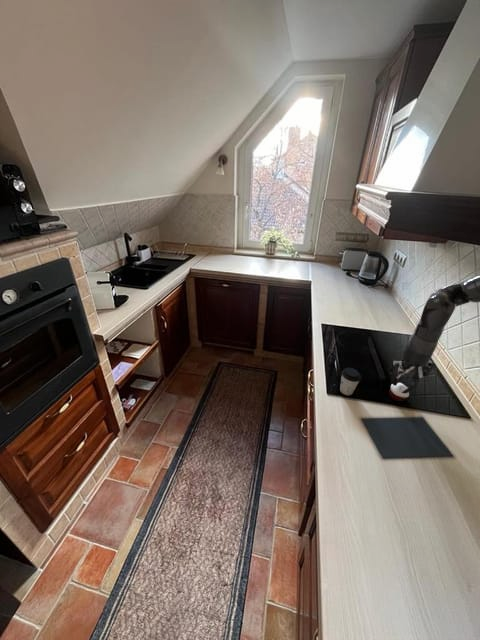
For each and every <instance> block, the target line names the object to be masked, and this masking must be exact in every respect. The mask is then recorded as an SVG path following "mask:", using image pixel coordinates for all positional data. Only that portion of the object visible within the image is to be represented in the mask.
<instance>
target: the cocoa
mask: <svg viewBox="0 0 480 640" xmlns="http://www.w3.org/2000/svg"><path fill="white" fill-rule="evenodd" d="M417 387H418V384H417V385H414V384H411V385H410V386H409V387H408V386H407V385H405V384H404V383H402V382H398V383H397V385H396V386H394V385H393V384H392V383H391V385H390V388H389V390H388V395H389V397H390V398H391V399H392V400H394V401H395V402H399V403H400V402H405V400H407V399H408V398H409V396H410V392H412V390H414V389H415V388H417Z"/></svg>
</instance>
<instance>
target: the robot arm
mask: <svg viewBox="0 0 480 640" xmlns="http://www.w3.org/2000/svg"><path fill="white" fill-rule="evenodd" d="M469 303H474V304H478V303H480V274H478V275H475V276H473V277H470V278H469V279H466V280H464V281H459V282H455V283H453V284H450V285H447V286H444V287H441V288H438V289H437V290H435V291H433V292H432V293H431V294H430V295H429V297H428V298H427V300H426V302H425V304H424V306H423V309H422V312H421V316H420V319H419V320H418V322H417V324H416V326H415V328H414V330H413V333H412V334H411V336H410V337H409V340H408V341H407V345H406V346H405V348H404V351H403V357H402V359H400V360H396V359H392V360H391V363H390V366H389V369H388V374H390V376H391V379H390V383H391V384H393V385H394V386H396V385H397V383H399V382H400V379H401V377H403V376H406V375H407V374H409V373H413V375H412V377H411V379H410V383H411V385H413V384H414V385H418V384H419V382H420V380H421V379H422V378H423V377H424V378H428V377H429V375H430V374H431V372H432V371H433V369H434V367H435V363H434V362H433V361H432V360H431V359H432V357H433V355H434V353H435V351H436V349H437V347H438V343H439V341H440V339H441V337H442V335H443V333H444V331H445V328H446V326H447V323H449V321H450V319H451V317H452V315H453V314H454V312H455V310H456V308H458V307H460V306H464V305H467V304H469Z"/></svg>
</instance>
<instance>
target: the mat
mask: <svg viewBox="0 0 480 640" xmlns="http://www.w3.org/2000/svg"><path fill="white" fill-rule="evenodd" d="M361 421H362V423H363V425H364V427H365V429H366V430H367V432H368V434H369V436H370V438H371V440H372V442H373V443H374V446H375V447H376V450H377V451H378V452H379V454H380V456H381V458H382V459H400V458H401V459H402V458H403V459H404V458H405V459H406V458H439V457H440V458H443V457H444V458H445V457H454V455H453V453H452V452H451V451H450V449H449V448H448V447H447V446H446V445H445V443H444V442H443V441H442V439H441V438H440V437H439V436H438V434H437V433H436V432H435V431H434V430H433V428H432V427H431V425H430V424H428V422H427V421H426V420H425V418H424V417H422V416H421V417H420V416H419V417H415V416H414V417H370V418H369V417H368V418H367V417H365V418H364V417H362V418H361Z"/></svg>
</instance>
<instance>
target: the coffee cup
mask: <svg viewBox="0 0 480 640" xmlns="http://www.w3.org/2000/svg"><path fill="white" fill-rule="evenodd" d="M361 380H362V375H361V373H360V372H359V371H358V370H357V369H356V368H352V367H346V368H343V370H342V371H341V377H340V387H339V392H340V393H341V394H343V395H345V396H352V395H353V393H354V391H355V390H356V388H357V386H358V384H359V382H360V381H361Z"/></svg>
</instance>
